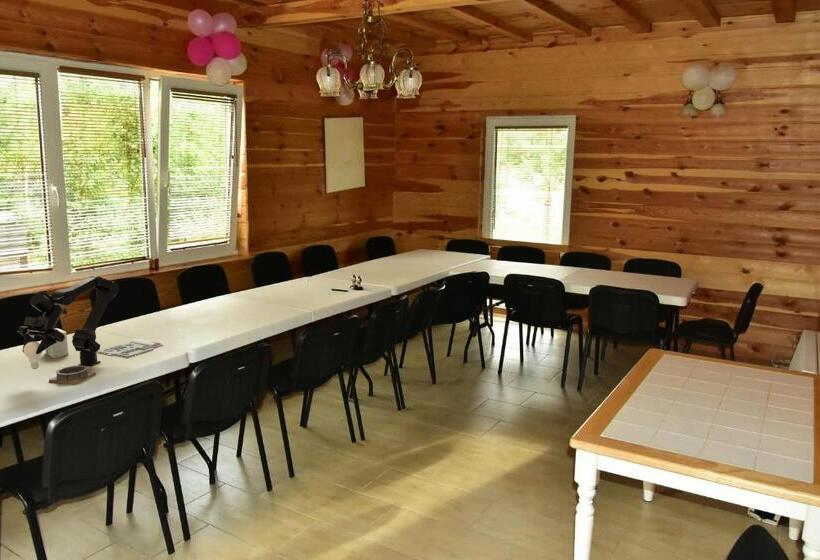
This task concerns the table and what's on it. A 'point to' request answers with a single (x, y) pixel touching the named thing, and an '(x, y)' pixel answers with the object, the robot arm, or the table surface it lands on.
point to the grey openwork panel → (131, 348)
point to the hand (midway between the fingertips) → (30, 353)
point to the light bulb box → (58, 347)
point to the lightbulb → (32, 354)
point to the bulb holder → (72, 375)
